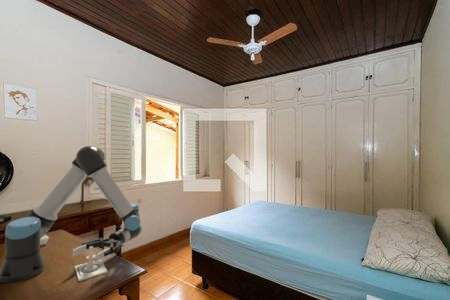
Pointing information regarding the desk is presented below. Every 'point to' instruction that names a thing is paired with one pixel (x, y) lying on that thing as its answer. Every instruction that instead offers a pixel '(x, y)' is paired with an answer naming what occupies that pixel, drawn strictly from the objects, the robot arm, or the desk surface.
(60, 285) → the desk surface
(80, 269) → the cream rectangular board
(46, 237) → the figurine
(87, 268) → the white stepped tower
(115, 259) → the desk surface
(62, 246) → the desk surface
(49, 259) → the desk surface
